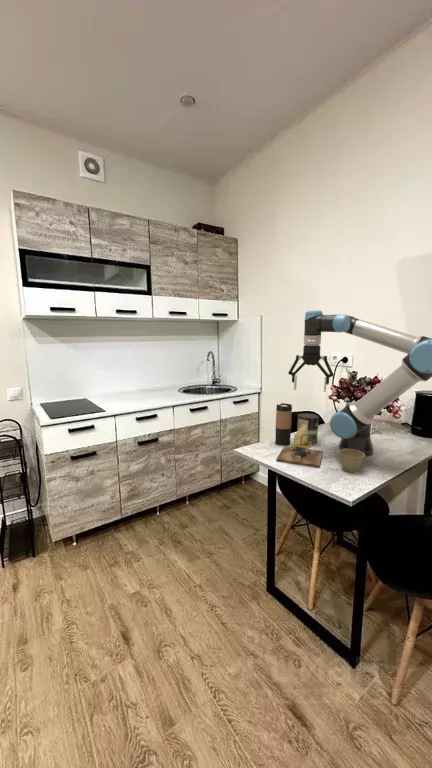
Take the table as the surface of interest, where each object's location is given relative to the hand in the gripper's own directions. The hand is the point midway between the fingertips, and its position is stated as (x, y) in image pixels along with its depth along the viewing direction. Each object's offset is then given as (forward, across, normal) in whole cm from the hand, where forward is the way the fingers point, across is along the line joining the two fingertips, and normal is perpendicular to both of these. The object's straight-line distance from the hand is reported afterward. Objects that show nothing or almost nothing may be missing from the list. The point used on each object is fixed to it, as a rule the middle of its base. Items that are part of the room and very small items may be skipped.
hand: (309, 390), depth 156 cm
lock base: (+29, -1, -12) cm, 31 cm away
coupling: (+24, -1, -13) cm, 27 cm away
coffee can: (+29, -1, +10) cm, 30 cm away
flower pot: (+29, +20, -18) cm, 39 cm away
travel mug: (+29, -12, +3) cm, 31 cm away
